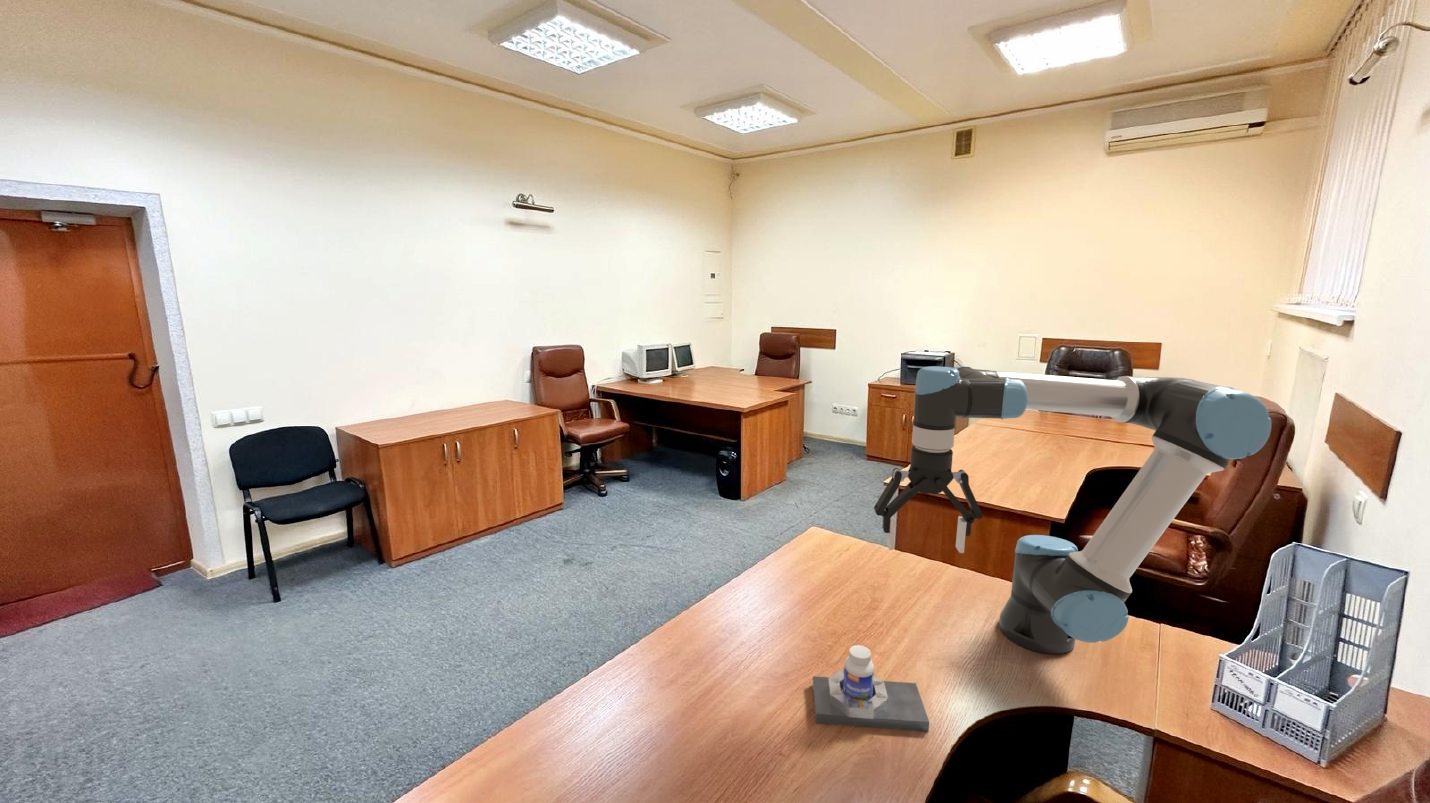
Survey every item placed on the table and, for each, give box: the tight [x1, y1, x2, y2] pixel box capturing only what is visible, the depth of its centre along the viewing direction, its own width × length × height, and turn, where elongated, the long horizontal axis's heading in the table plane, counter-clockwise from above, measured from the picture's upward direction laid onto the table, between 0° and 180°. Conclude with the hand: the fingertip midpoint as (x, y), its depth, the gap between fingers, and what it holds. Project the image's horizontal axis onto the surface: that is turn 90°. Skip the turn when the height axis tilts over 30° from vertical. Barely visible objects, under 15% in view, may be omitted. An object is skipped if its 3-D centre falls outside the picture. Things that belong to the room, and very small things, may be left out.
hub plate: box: [812, 668, 930, 733], centre depth 106 cm, size 20×10×4 cm, turn 84°
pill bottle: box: [843, 644, 875, 701], centre depth 105 cm, size 5×5×10 cm
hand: (924, 548), depth 112 cm, fingers open, 13 cm apart
